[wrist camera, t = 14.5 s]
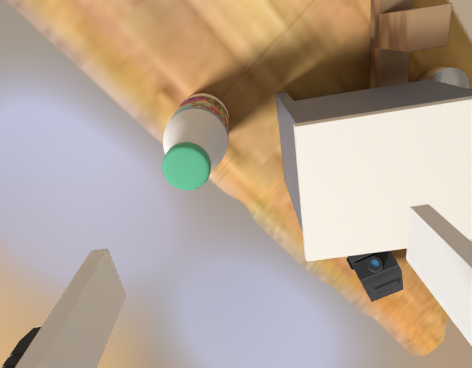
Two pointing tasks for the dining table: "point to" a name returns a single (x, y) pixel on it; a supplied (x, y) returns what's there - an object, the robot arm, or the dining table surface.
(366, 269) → the tool
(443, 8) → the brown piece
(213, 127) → the milk bottle
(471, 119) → the cabinet
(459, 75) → the puck
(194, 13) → the dining table surface
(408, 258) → the robot arm
